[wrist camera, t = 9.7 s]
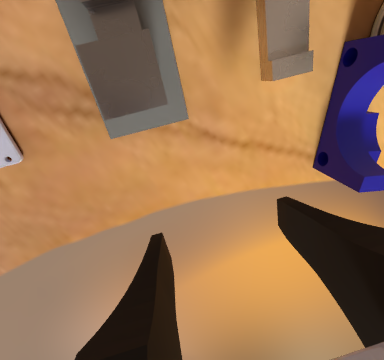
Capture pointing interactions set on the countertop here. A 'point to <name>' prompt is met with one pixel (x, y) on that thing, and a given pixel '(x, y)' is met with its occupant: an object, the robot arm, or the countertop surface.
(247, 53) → the countertop surface
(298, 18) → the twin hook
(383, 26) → the coffee can
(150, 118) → the pad
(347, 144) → the blue cradle bracket
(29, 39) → the countertop surface
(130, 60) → the gray stepped bracket
